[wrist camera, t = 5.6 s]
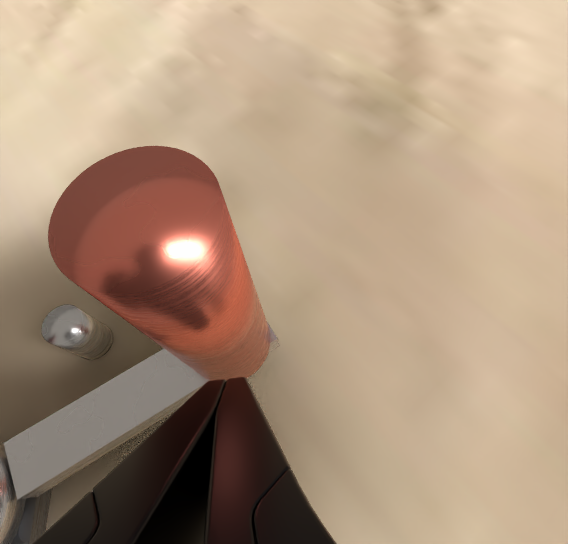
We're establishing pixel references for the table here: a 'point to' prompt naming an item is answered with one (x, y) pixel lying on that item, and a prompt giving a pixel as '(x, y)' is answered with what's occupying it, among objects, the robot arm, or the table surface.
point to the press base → (81, 341)
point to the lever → (142, 308)
